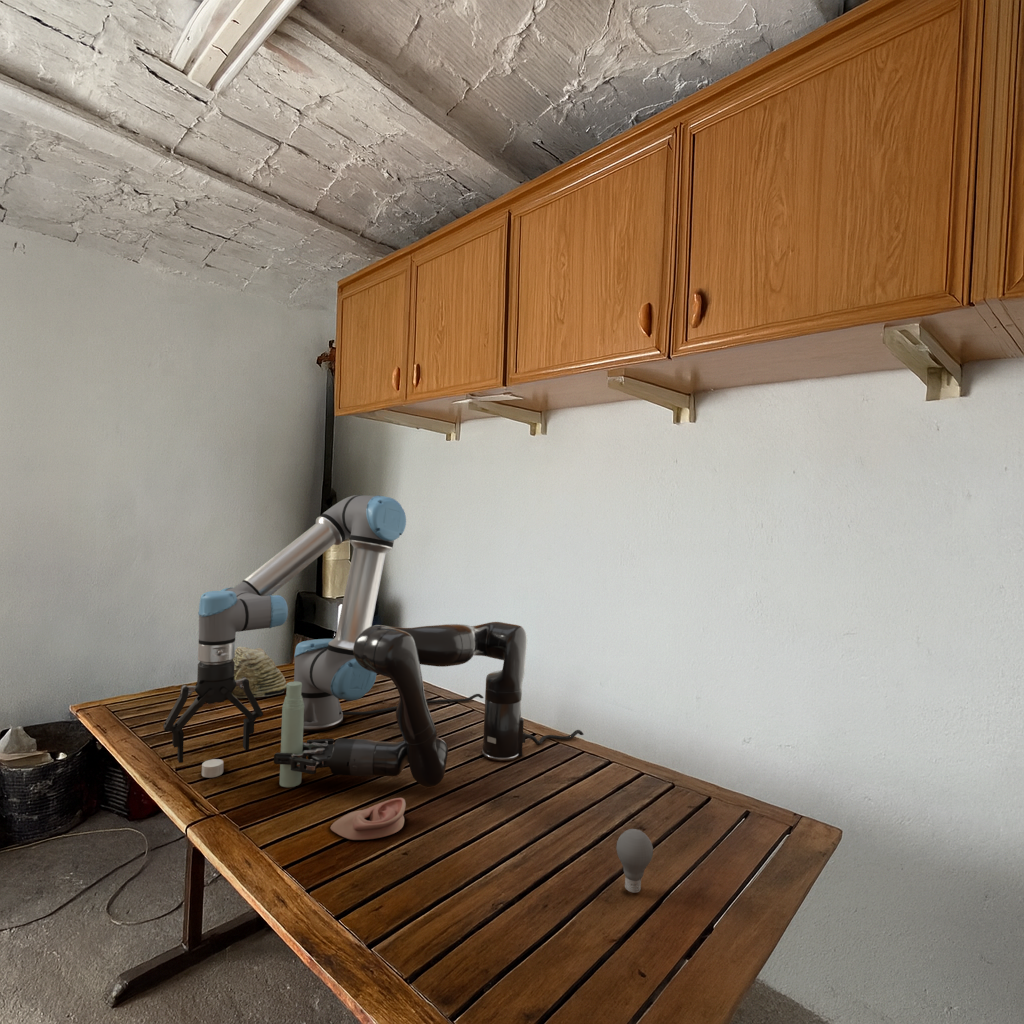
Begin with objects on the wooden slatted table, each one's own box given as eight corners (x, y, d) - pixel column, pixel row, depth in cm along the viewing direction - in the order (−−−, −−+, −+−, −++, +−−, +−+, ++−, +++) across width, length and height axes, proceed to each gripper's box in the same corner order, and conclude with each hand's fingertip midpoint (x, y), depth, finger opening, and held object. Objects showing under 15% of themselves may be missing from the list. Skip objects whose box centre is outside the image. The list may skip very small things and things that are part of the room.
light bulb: (610, 879, 108) (613, 822, 108) (644, 879, 109) (647, 822, 109) (619, 902, 102) (622, 840, 102) (655, 901, 103) (658, 840, 103)
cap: (197, 773, 142) (198, 763, 142) (216, 767, 146) (216, 757, 145) (208, 779, 139) (208, 768, 139) (227, 773, 143) (227, 762, 143)
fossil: (218, 695, 195) (220, 647, 195) (278, 685, 208) (279, 640, 207) (228, 703, 189) (230, 653, 188) (289, 692, 201) (290, 645, 201)
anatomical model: (323, 814, 118) (350, 787, 130) (322, 835, 118) (350, 806, 130) (389, 824, 116) (412, 796, 127) (389, 846, 116) (411, 816, 127)
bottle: (305, 780, 141) (309, 681, 141) (293, 788, 137) (296, 687, 136) (288, 776, 142) (291, 679, 142) (274, 785, 138) (278, 684, 138)
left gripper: (154, 671, 132) (152, 772, 132) (278, 658, 146) (275, 749, 147) (150, 663, 138) (148, 759, 138) (269, 650, 152) (267, 738, 153)
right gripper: (364, 728, 146) (291, 724, 147) (347, 753, 132) (266, 749, 132) (363, 760, 146) (290, 757, 147) (346, 789, 132) (265, 784, 132)
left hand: (213, 754), depth 143 cm, fingers open, 13 cm apart
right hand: (279, 753), depth 140 cm, fingers closed on bottle, 4 cm apart
